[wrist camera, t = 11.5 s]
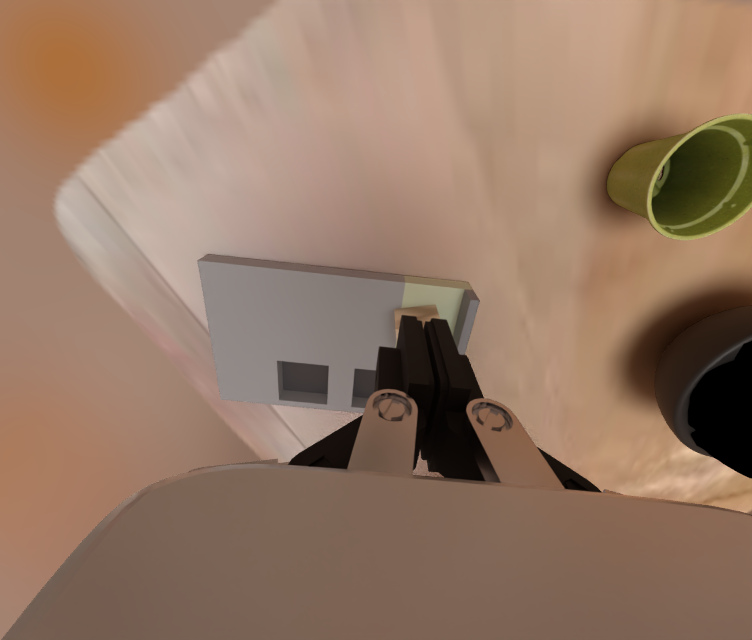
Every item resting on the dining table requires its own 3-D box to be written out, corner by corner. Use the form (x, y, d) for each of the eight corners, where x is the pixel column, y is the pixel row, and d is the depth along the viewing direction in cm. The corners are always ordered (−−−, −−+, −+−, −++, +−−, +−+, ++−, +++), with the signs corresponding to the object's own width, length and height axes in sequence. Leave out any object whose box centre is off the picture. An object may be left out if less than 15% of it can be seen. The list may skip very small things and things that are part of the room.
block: (435, 304, 38) (442, 324, 34) (437, 339, 41) (443, 362, 36) (394, 309, 39) (395, 329, 34) (398, 343, 41) (399, 367, 37)
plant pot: (596, 132, 32) (663, 126, 24) (699, 114, 31) (803, 102, 23) (583, 226, 36) (636, 247, 28) (672, 213, 35) (753, 231, 27)
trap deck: (468, 282, 39) (479, 300, 35) (435, 408, 49) (441, 436, 44) (208, 254, 39) (182, 269, 34) (228, 388, 48) (210, 414, 44)
